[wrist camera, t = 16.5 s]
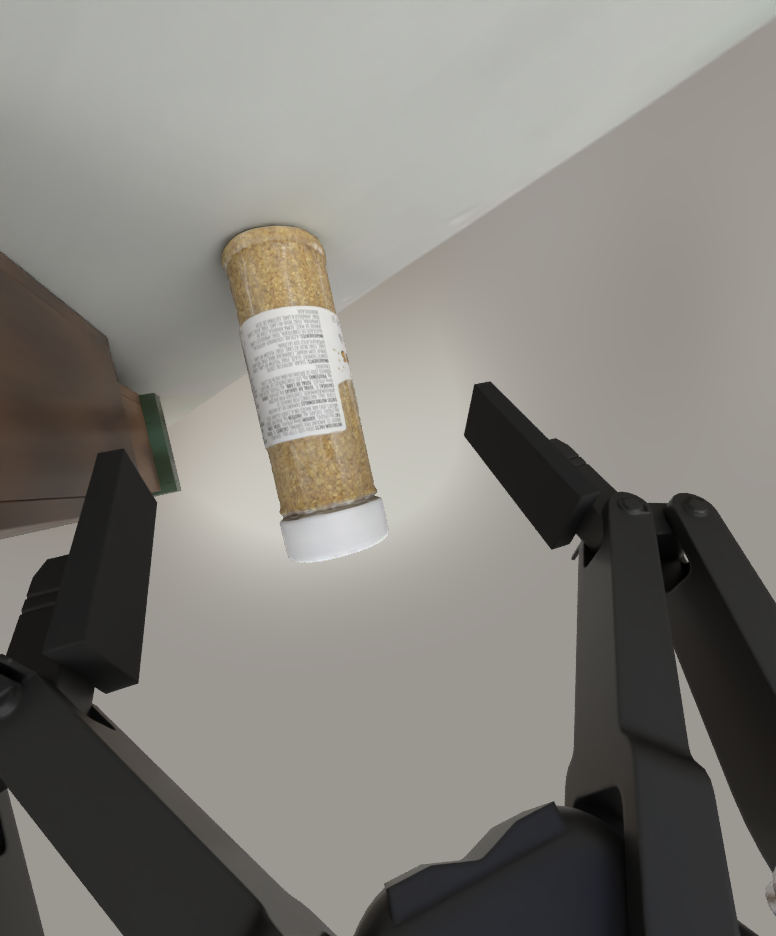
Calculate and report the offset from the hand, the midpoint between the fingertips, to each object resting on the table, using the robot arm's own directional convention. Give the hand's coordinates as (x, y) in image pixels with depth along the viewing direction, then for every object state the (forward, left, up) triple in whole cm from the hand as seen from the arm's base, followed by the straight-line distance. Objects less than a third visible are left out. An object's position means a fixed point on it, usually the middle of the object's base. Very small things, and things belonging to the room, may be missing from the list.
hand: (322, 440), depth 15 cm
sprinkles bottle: (0, -2, -9) cm, 9 cm away
